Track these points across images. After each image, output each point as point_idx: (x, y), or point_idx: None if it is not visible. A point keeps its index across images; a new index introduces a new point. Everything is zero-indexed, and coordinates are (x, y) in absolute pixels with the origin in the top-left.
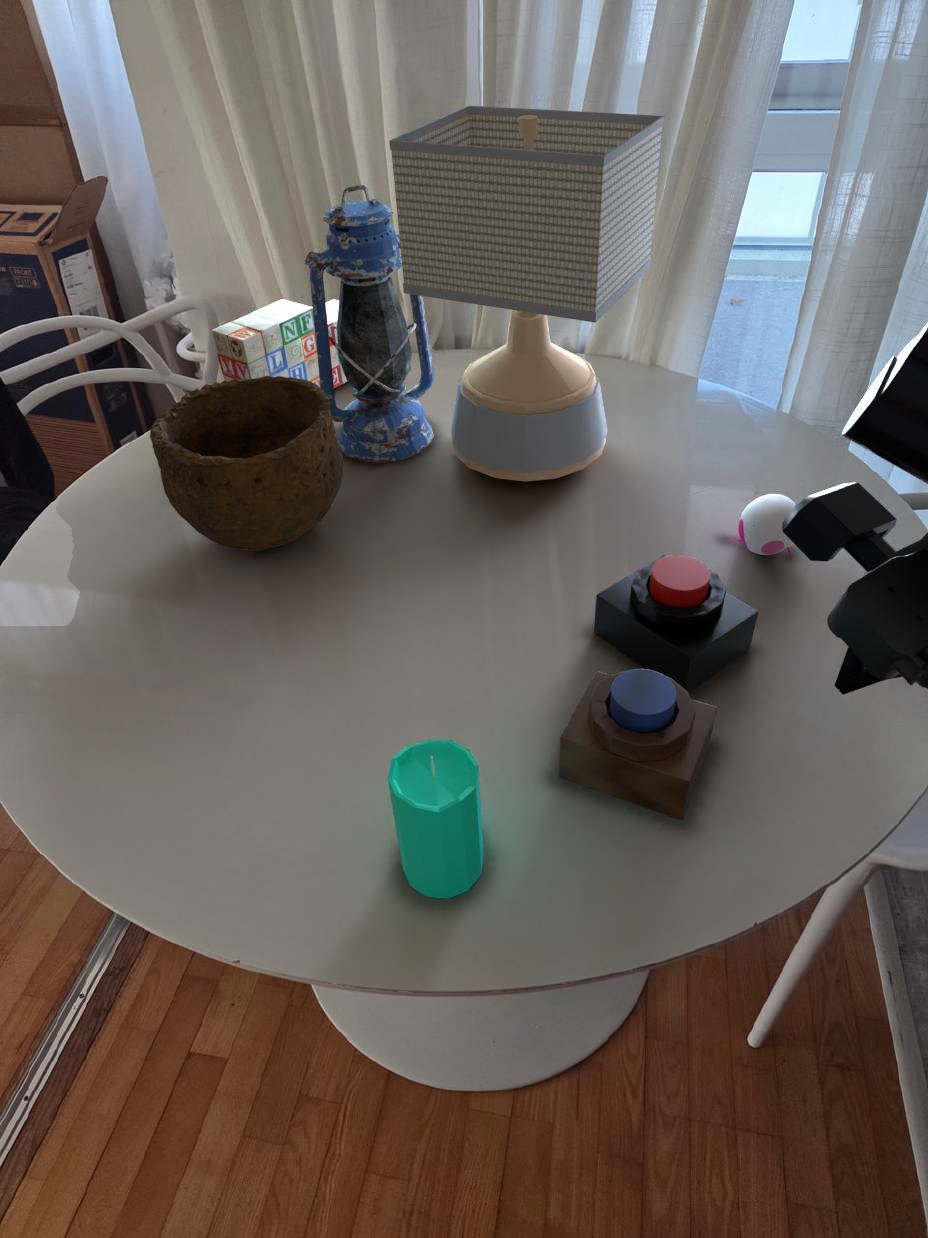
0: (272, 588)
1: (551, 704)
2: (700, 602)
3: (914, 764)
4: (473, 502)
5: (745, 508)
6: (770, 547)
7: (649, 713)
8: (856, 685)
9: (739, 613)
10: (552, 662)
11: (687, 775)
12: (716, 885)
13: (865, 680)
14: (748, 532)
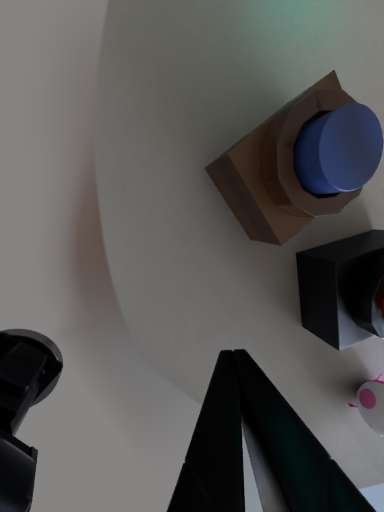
0: None
1: None
2: (382, 306)
3: (161, 372)
4: None
5: None
6: (369, 397)
7: (326, 126)
8: (218, 389)
9: (346, 334)
10: (371, 180)
11: (233, 156)
12: (137, 148)
13: (213, 426)
14: None
